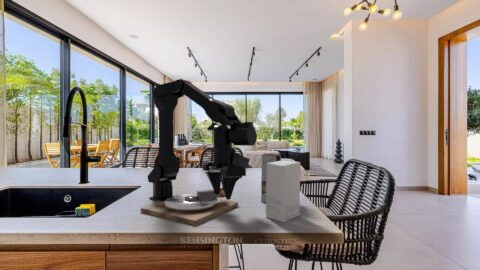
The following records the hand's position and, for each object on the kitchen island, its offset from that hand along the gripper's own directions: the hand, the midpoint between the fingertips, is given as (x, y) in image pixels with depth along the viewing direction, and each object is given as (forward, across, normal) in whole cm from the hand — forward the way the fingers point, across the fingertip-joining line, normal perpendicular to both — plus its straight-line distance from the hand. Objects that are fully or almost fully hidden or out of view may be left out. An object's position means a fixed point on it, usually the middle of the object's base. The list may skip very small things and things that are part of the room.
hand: (222, 196), depth 82 cm
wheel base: (+4, +6, +8) cm, 11 cm away
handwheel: (+2, +6, +6) cm, 9 cm away
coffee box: (+4, +5, -21) cm, 22 cm away
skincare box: (+5, -13, -13) cm, 19 cm away
